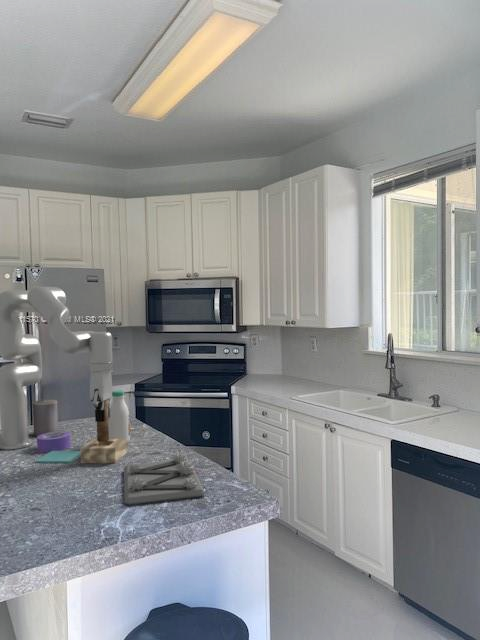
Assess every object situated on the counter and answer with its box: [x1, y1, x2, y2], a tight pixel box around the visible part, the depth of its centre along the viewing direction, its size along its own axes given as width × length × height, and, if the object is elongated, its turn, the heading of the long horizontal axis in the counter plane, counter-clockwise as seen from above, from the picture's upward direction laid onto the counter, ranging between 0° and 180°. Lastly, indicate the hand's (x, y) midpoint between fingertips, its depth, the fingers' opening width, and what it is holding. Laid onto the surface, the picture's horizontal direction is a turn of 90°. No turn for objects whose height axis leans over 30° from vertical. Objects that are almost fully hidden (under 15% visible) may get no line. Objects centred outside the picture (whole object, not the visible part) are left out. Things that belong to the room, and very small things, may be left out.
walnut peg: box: [96, 399, 109, 442], centre depth 174 cm, size 4×4×14 cm
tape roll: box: [36, 430, 72, 453], centre depth 188 cm, size 12×12×5 cm
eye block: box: [80, 438, 128, 464], centre depth 174 cm, size 12×12×5 cm
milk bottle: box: [109, 390, 131, 444], centre depth 193 cm, size 8×8×20 cm
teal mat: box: [35, 450, 81, 464], centre depth 175 cm, size 12×12×1 cm
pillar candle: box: [32, 399, 59, 438], centre depth 209 cm, size 10×10×15 cm
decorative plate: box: [123, 450, 206, 506], centre depth 148 cm, size 30×22×7 cm
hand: (102, 419), depth 174 cm, fingers closed on walnut peg, 4 cm apart
